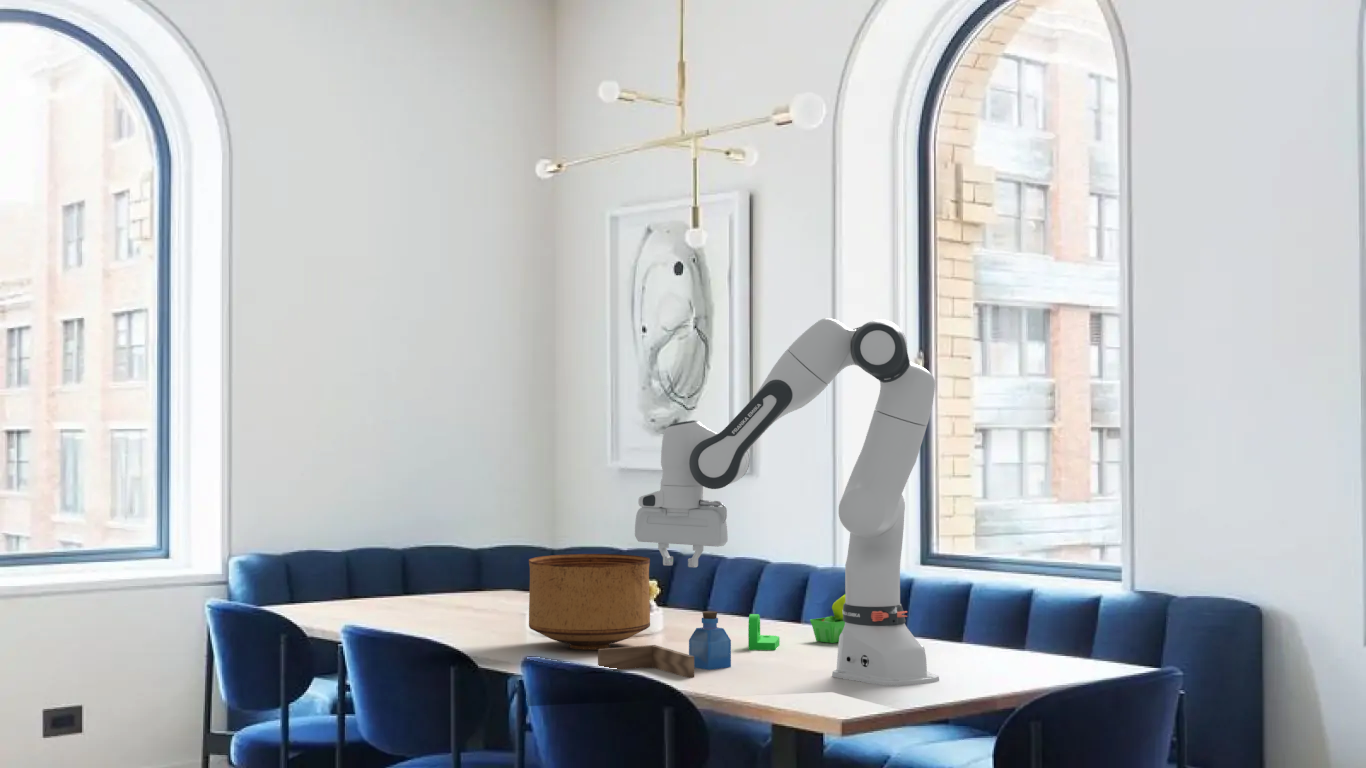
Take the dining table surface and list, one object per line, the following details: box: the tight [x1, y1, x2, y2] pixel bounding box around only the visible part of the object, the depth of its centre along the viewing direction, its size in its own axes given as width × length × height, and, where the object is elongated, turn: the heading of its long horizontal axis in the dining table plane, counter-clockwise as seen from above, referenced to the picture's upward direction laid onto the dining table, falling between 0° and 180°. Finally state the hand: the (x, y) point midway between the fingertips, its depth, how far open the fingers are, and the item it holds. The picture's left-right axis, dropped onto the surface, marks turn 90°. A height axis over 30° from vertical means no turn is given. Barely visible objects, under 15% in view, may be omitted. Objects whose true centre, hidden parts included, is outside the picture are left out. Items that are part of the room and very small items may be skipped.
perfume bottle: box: [688, 610, 732, 671], centre depth 349 cm, size 6×6×12 cm
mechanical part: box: [747, 613, 781, 651], centre depth 382 cm, size 12×6×8 cm, turn 170°
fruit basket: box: [809, 593, 845, 644], centre depth 392 cm, size 11×9×11 cm
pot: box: [528, 553, 651, 651], centre depth 381 cm, size 28×28×20 cm
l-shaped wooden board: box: [597, 644, 695, 679], centre depth 339 cm, size 18×13×5 cm
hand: (680, 566), depth 345 cm, fingers open, 4 cm apart
